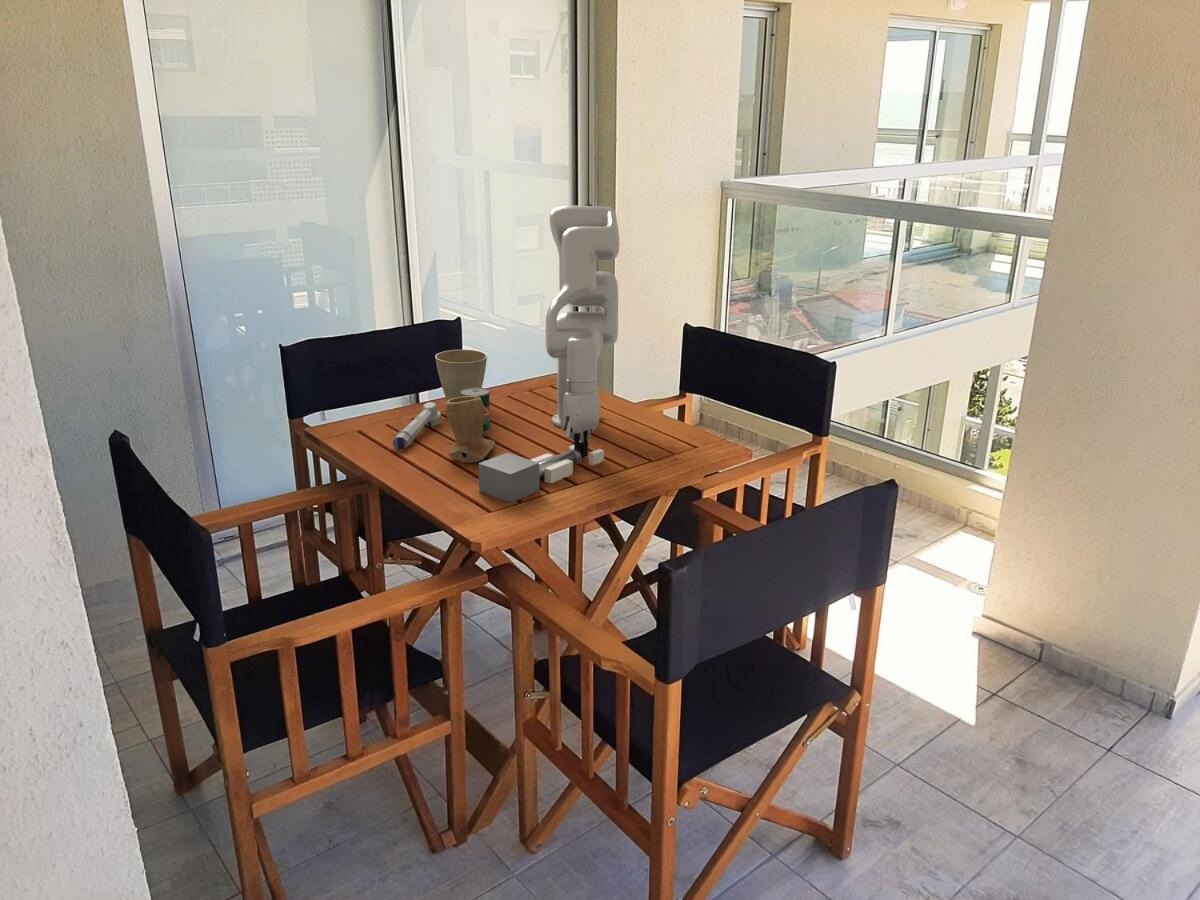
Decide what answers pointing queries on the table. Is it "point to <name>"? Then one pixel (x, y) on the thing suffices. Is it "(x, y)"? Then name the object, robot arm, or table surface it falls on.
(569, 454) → the slip tube
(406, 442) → the white handheld tool
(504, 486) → the socket block
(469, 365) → the plant pot
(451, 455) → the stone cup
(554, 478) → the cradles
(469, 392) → the canned tomato
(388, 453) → the table surface
